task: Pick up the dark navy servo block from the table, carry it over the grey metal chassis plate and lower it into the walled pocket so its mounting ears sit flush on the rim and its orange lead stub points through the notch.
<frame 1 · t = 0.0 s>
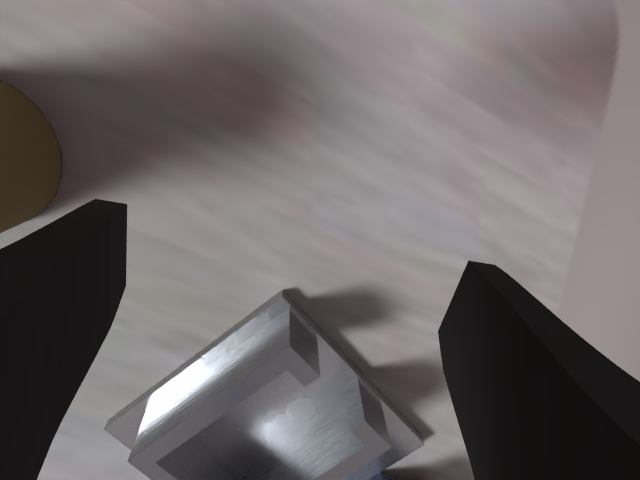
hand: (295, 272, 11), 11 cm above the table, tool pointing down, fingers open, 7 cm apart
chassis: (269, 428, 26), on the table
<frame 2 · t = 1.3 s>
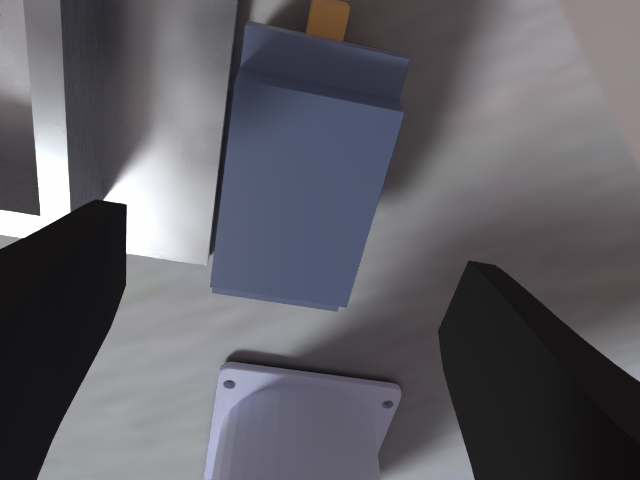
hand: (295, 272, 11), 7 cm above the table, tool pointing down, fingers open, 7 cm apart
chassis: (46, 81, 16), on the table
servo: (300, 143, 18), on the table
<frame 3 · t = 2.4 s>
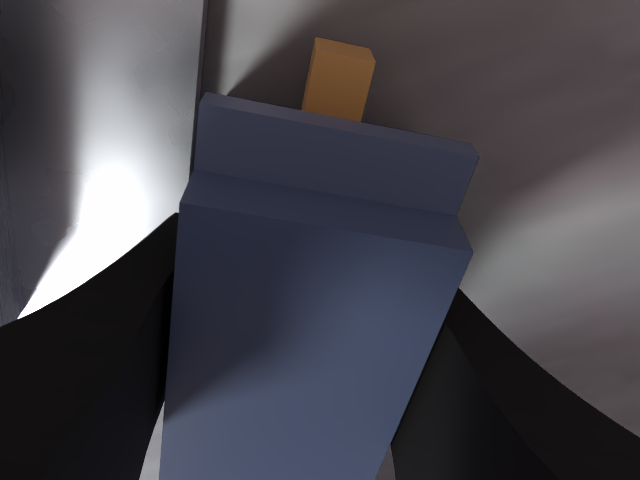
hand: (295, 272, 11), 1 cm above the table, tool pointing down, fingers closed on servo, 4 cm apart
servo: (296, 236, 12), on the table, touching gripper
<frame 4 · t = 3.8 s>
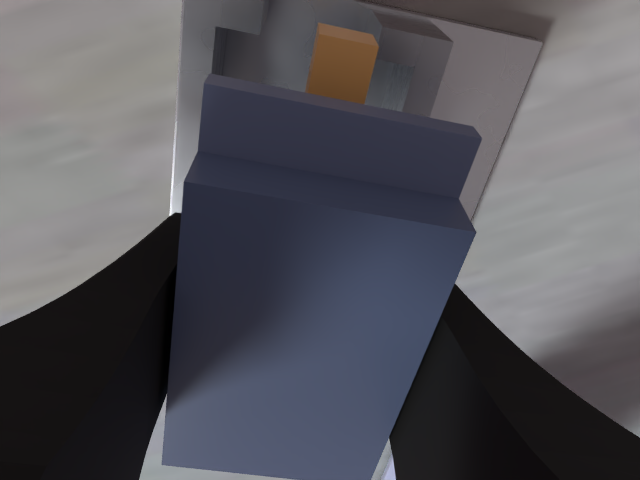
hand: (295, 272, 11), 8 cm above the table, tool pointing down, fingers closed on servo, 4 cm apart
chassis: (331, 164, 19), on the table
servo: (299, 225, 12), point 7 cm above the table, touching gripper
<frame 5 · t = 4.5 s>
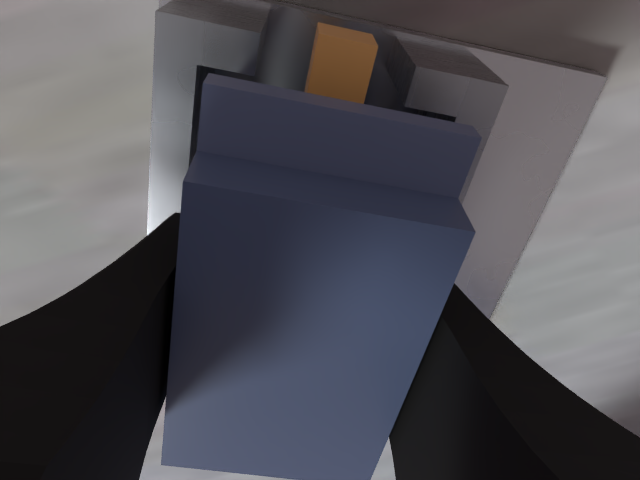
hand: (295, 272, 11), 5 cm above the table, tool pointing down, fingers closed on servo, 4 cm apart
chassis: (342, 216, 16), on the table
servo: (298, 225, 12), point 3 cm above the table, touching gripper
when the fingers open (4 cm above the table, at t = 5.1 s): servo drops 2 cm, resting on chassis.
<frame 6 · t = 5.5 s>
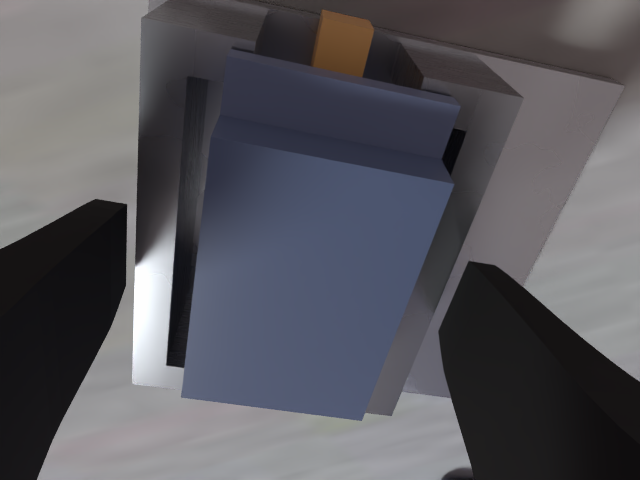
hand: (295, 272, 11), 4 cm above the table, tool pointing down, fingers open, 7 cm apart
chassis: (343, 230, 15), on the table
servo: (302, 194, 14), point 1 cm above the table, touching chassis
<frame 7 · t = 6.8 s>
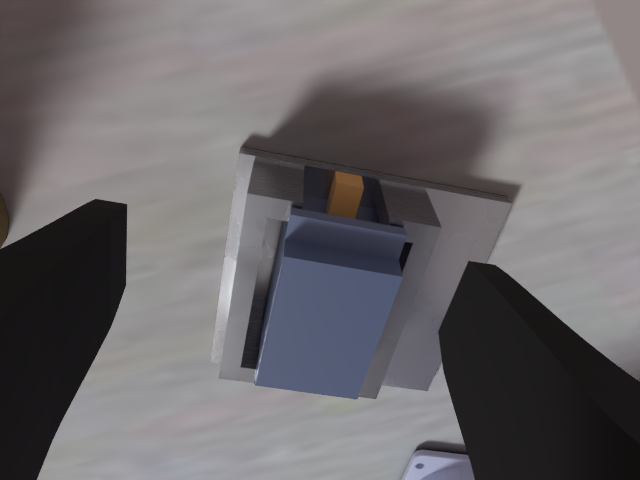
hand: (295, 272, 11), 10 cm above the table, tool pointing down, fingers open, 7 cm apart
chassis: (346, 281, 24), on the table
servo: (321, 262, 22), point 1 cm above the table, touching chassis
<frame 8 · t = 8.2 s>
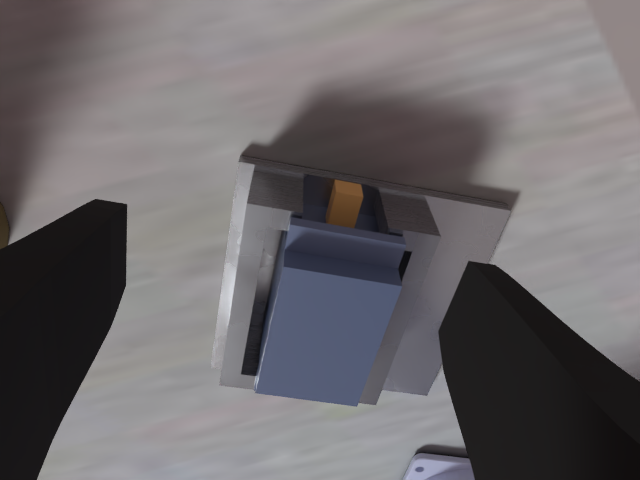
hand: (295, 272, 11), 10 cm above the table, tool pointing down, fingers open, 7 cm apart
chassis: (346, 288, 24), on the table
servo: (321, 269, 23), point 1 cm above the table, touching chassis
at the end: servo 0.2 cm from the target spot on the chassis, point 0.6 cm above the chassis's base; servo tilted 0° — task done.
